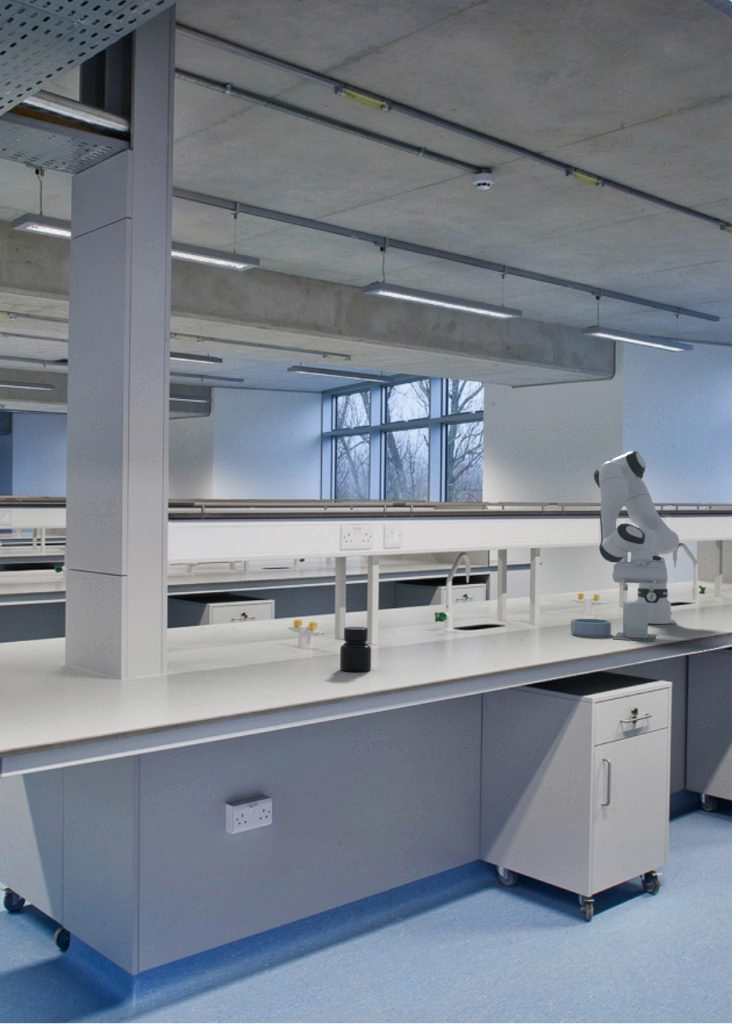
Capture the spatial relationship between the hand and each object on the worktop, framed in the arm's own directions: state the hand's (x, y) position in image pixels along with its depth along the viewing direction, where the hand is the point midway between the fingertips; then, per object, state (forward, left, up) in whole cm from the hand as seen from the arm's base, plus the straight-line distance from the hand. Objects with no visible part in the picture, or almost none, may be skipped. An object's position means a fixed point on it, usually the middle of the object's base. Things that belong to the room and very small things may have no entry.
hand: (637, 589), depth 352 cm
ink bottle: (+116, -69, -17) cm, 136 cm away
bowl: (+9, -16, -17) cm, 25 cm away
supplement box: (+10, 0, -16) cm, 20 cm away
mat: (+10, 0, -16) cm, 20 cm away
